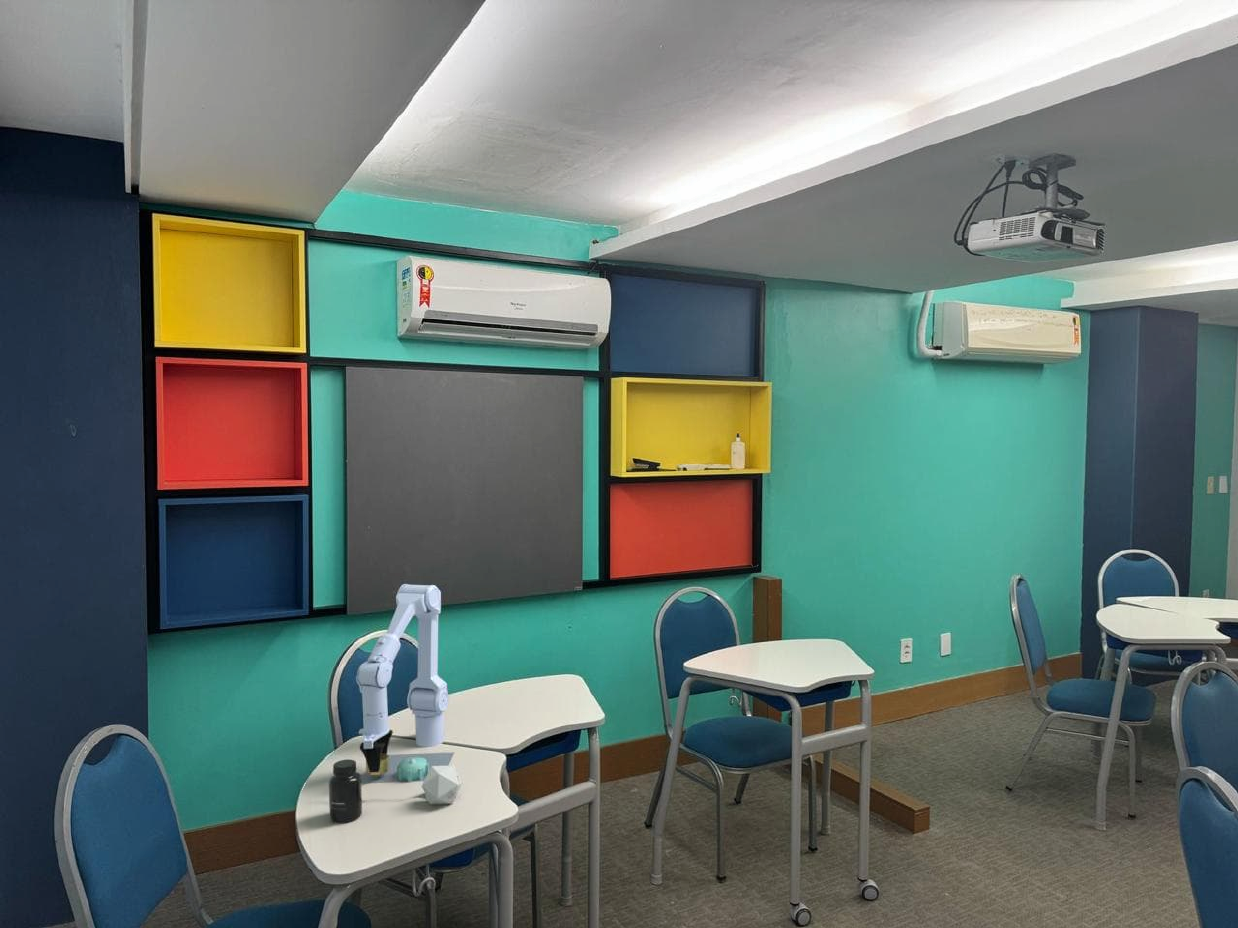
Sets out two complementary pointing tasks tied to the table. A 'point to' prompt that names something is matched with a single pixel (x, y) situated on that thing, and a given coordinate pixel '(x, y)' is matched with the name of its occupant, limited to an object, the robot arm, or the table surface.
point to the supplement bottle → (345, 792)
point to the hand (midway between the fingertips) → (377, 766)
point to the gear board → (399, 758)
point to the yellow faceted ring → (383, 765)
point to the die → (441, 784)
